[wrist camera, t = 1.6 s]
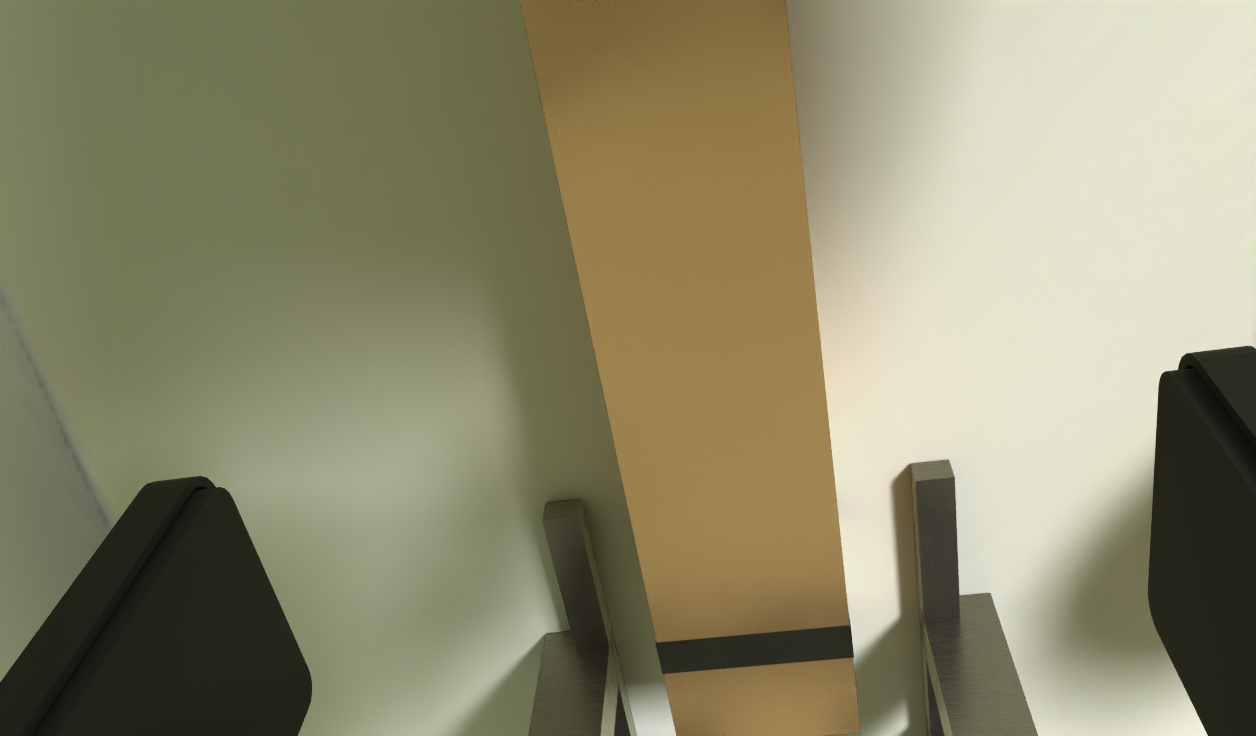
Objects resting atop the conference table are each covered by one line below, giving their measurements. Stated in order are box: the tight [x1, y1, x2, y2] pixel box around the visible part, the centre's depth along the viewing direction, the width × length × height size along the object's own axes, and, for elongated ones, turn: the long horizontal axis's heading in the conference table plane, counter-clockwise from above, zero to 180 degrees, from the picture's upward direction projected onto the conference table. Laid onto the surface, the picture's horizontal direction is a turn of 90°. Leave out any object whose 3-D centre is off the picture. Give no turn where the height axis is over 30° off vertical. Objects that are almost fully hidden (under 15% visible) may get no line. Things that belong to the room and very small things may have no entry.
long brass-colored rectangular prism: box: [519, 0, 861, 736], centre depth 25 cm, size 20×4×6 cm, turn 10°
